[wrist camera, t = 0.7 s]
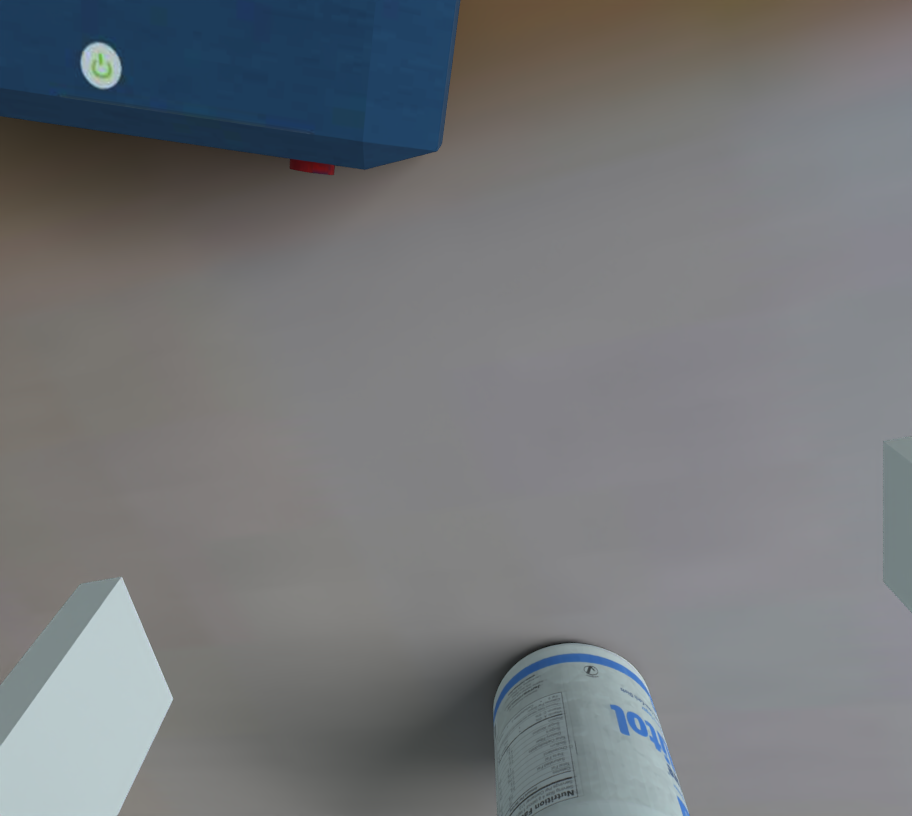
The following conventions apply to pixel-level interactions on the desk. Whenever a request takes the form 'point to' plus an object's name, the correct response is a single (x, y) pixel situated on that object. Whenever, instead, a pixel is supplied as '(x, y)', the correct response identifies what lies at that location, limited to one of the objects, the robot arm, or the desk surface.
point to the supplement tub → (580, 739)
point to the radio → (238, 73)
